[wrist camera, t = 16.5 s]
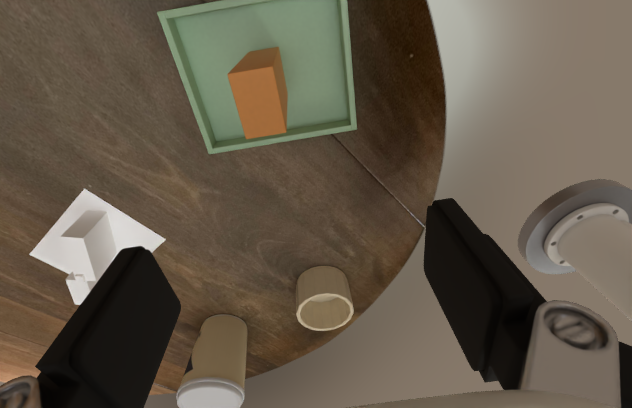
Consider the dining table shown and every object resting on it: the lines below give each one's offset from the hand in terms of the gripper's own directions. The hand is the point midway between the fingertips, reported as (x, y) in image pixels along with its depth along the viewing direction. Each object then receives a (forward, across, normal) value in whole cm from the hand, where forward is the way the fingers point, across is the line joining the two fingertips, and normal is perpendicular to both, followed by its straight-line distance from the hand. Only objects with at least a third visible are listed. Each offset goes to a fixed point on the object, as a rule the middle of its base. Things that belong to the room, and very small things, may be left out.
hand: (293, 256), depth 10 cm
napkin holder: (+26, +30, +16) cm, 43 cm away
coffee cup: (+26, +19, +37) cm, 49 cm away
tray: (+26, +2, -2) cm, 26 cm away
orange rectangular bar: (+26, +2, -2) cm, 26 cm away
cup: (+26, +1, +30) cm, 40 cm away
